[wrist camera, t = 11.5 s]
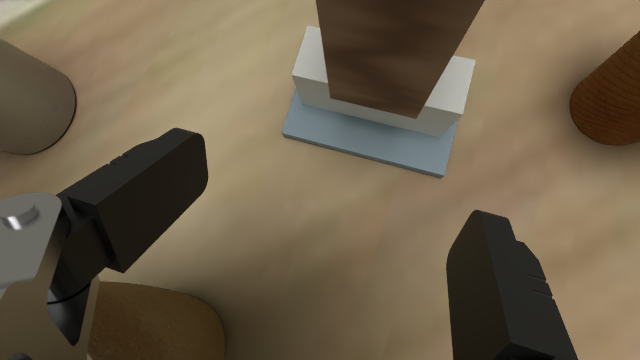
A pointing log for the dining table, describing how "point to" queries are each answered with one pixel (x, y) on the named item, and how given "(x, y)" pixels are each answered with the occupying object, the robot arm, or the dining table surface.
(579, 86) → the disposable coffee cup
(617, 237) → the dining table surface
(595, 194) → the dining table surface
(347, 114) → the butter dish
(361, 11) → the post
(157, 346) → the plant pot
